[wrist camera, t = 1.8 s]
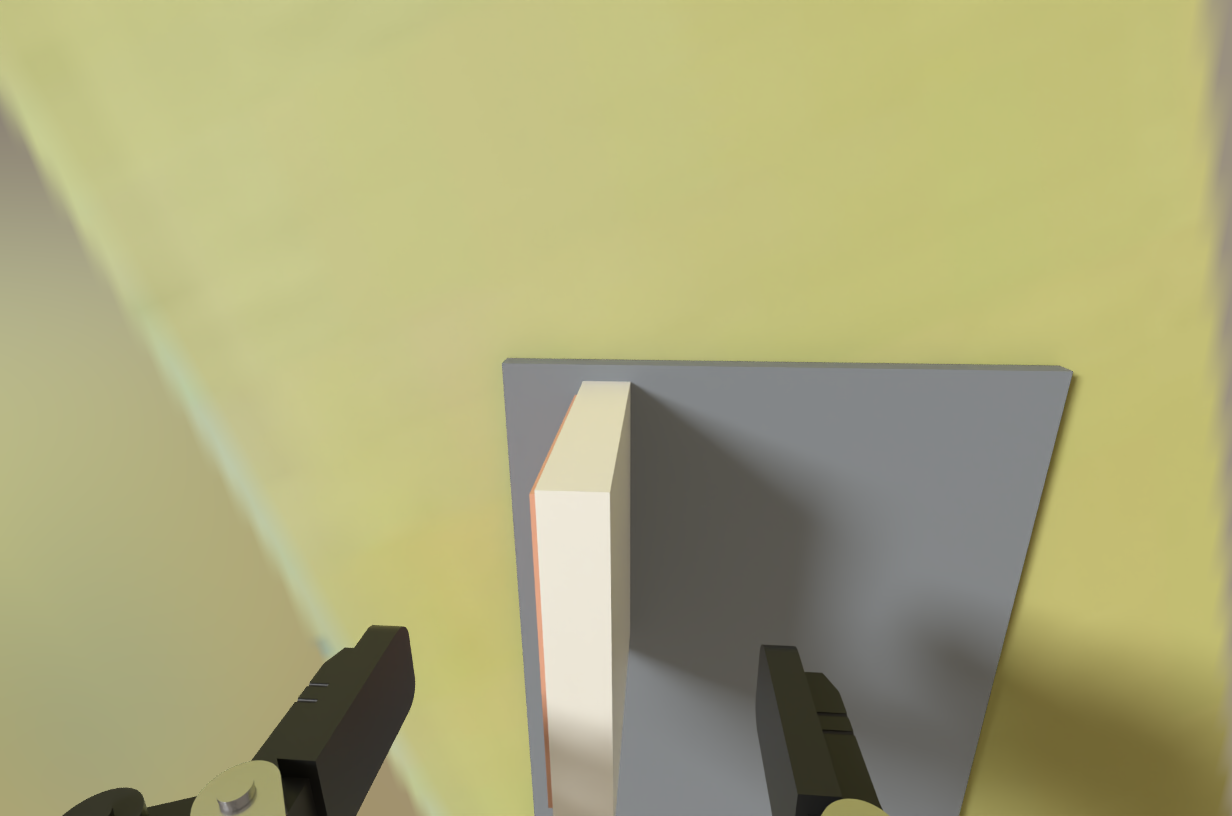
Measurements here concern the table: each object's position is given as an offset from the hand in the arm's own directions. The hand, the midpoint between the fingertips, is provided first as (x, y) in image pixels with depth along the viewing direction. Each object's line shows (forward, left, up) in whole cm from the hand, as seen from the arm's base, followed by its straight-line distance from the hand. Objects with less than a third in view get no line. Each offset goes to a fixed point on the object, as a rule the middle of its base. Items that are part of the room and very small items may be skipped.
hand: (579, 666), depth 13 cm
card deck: (0, 0, -6) cm, 6 cm away
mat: (+6, +5, -7) cm, 10 cm away
